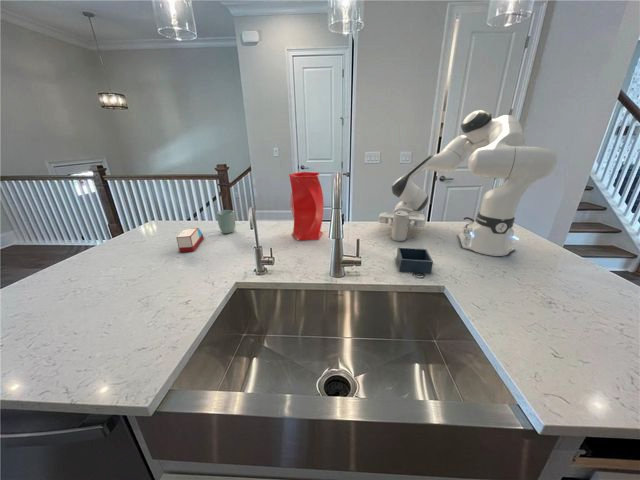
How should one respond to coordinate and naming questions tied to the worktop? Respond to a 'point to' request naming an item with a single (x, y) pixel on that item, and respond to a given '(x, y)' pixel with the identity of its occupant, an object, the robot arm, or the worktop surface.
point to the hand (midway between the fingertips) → (400, 224)
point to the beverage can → (400, 226)
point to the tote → (414, 260)
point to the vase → (306, 205)
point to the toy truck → (189, 239)
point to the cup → (226, 221)
